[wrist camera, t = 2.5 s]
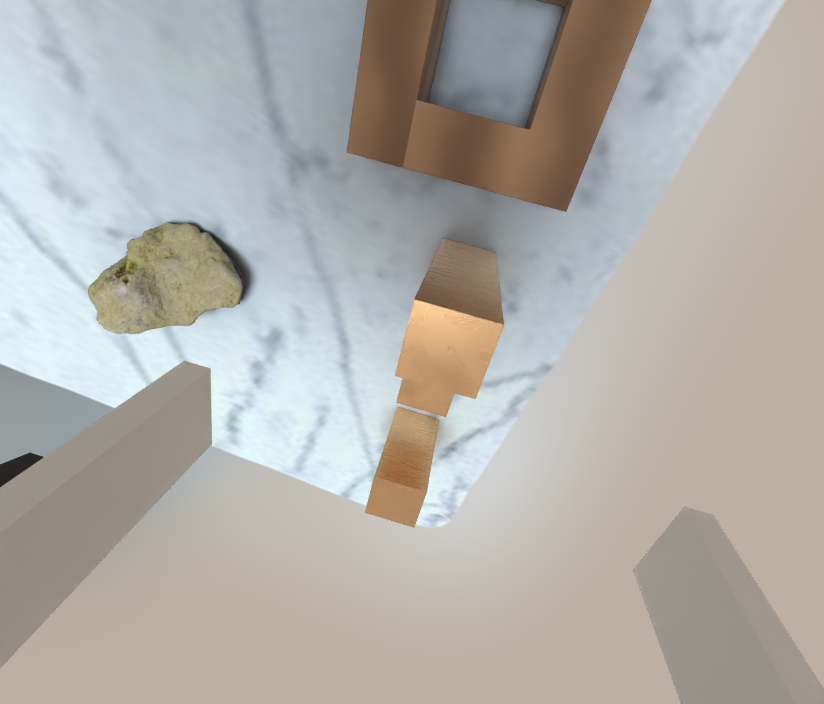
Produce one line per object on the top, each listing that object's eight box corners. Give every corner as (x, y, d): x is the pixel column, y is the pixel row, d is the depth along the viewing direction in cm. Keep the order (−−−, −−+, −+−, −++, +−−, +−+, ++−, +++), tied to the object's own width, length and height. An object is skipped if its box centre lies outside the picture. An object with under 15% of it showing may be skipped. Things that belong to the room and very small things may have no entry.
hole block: (366, 152, 28) (346, 152, 24) (410, -121, 21) (393, -183, 17) (554, 203, 27) (566, 211, 23) (655, -61, 21) (696, -111, 17)
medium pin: (389, 439, 39) (364, 512, 31) (397, 407, 37) (374, 476, 29) (428, 450, 39) (414, 527, 31) (438, 419, 37) (426, 492, 29)
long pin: (429, 287, 31) (395, 375, 19) (443, 238, 29) (414, 299, 17) (478, 301, 31) (475, 399, 19) (495, 252, 29) (503, 324, 17)
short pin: (407, 371, 35) (396, 402, 31) (418, 331, 33) (407, 358, 29) (450, 383, 35) (446, 417, 31) (463, 344, 33) (460, 374, 29)
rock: (267, 264, 34) (153, 186, 31) (236, 295, 29) (94, 206, 26) (218, 344, 39) (115, 284, 36) (184, 384, 34) (60, 318, 31)
